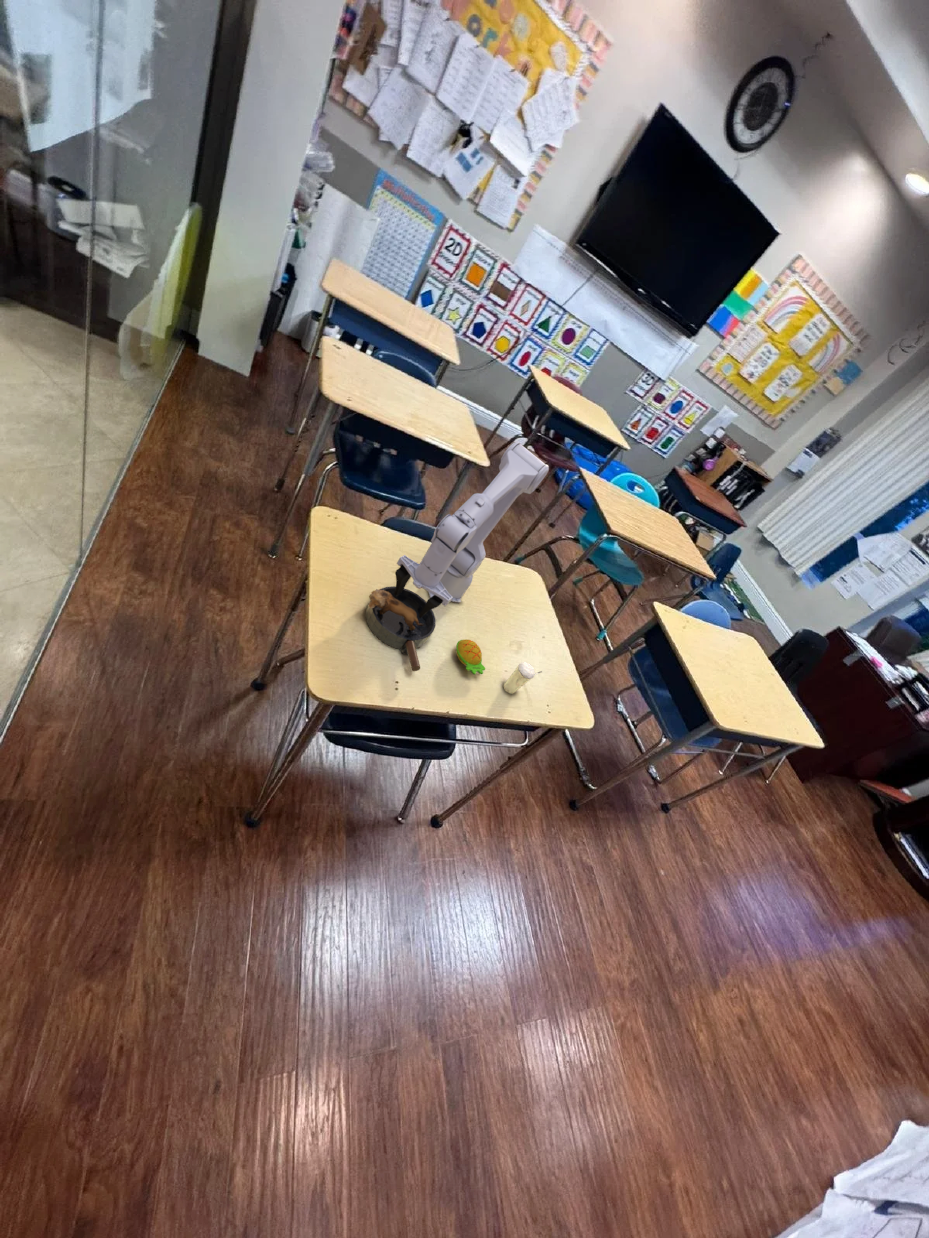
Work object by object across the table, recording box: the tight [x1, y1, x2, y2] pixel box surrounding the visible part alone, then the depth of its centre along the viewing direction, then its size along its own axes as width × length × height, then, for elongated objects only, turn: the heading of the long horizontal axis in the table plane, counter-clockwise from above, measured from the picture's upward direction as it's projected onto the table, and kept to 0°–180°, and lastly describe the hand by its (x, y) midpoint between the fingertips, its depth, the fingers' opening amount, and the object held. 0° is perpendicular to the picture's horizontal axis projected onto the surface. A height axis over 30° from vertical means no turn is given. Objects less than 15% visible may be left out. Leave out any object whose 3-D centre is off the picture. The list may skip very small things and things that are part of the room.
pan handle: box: [400, 641, 421, 672], centre depth 115 cm, size 7×2×4 cm, turn 17°
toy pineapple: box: [455, 638, 486, 675], centre depth 124 cm, size 7×10×5 cm
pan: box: [365, 585, 437, 650], centre depth 122 cm, size 16×16×4 cm
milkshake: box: [503, 661, 543, 695], centre depth 124 cm, size 4×5×10 cm
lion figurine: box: [368, 588, 424, 631], centre depth 118 cm, size 15×5×9 cm
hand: (409, 604), depth 119 cm, fingers open, 7 cm apart
